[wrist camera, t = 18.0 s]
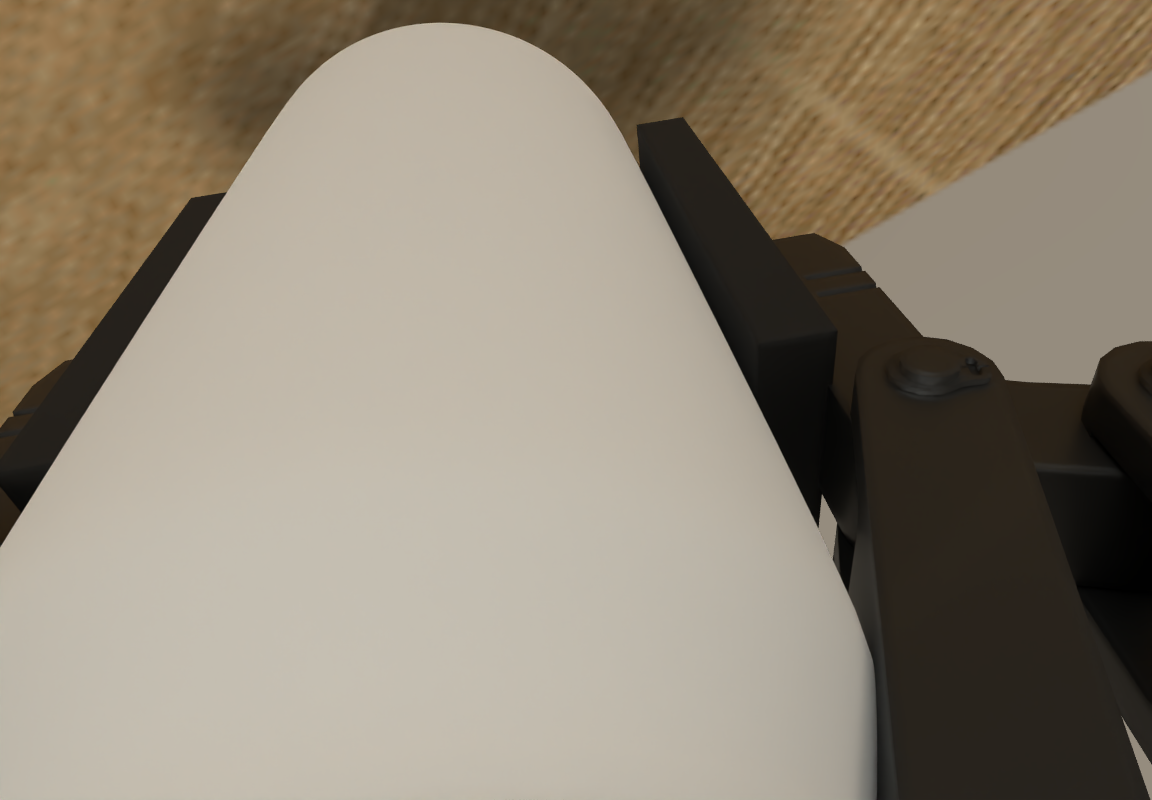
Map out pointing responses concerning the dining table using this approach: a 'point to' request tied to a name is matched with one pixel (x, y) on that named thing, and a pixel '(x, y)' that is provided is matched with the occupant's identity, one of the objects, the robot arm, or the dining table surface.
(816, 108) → the dining table surface
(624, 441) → the can
